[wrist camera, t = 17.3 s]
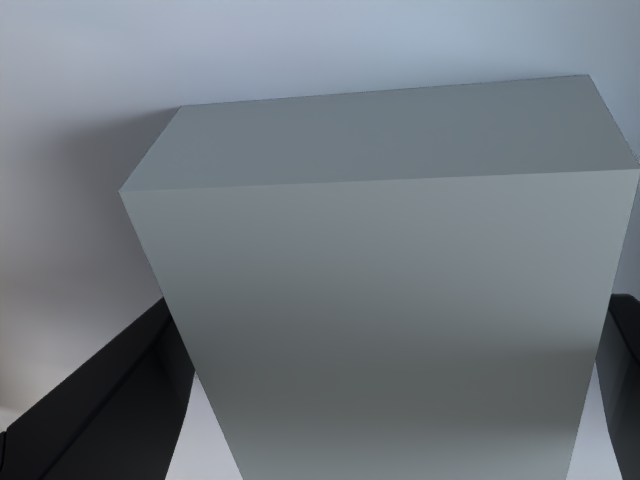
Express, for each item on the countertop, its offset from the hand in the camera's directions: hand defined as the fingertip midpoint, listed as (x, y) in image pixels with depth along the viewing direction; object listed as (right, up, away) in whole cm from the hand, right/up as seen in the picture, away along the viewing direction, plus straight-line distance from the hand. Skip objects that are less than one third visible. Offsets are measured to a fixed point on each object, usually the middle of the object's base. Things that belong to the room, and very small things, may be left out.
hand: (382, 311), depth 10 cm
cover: (0, +1, +1) cm, 2 cm away
